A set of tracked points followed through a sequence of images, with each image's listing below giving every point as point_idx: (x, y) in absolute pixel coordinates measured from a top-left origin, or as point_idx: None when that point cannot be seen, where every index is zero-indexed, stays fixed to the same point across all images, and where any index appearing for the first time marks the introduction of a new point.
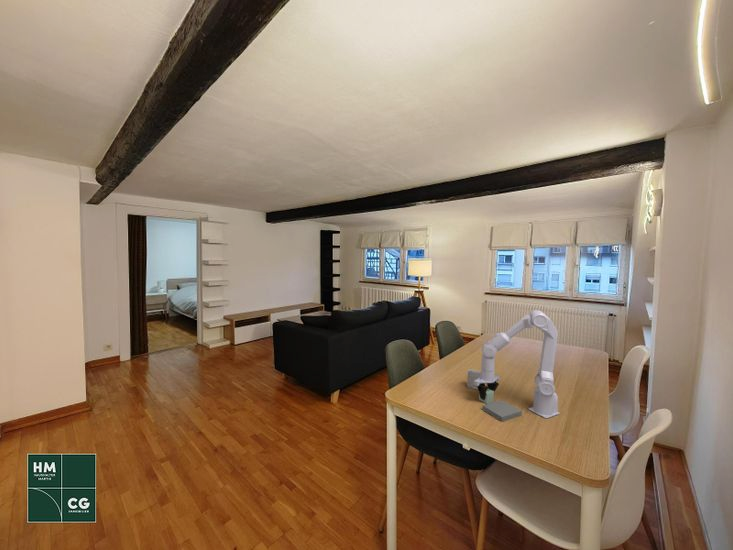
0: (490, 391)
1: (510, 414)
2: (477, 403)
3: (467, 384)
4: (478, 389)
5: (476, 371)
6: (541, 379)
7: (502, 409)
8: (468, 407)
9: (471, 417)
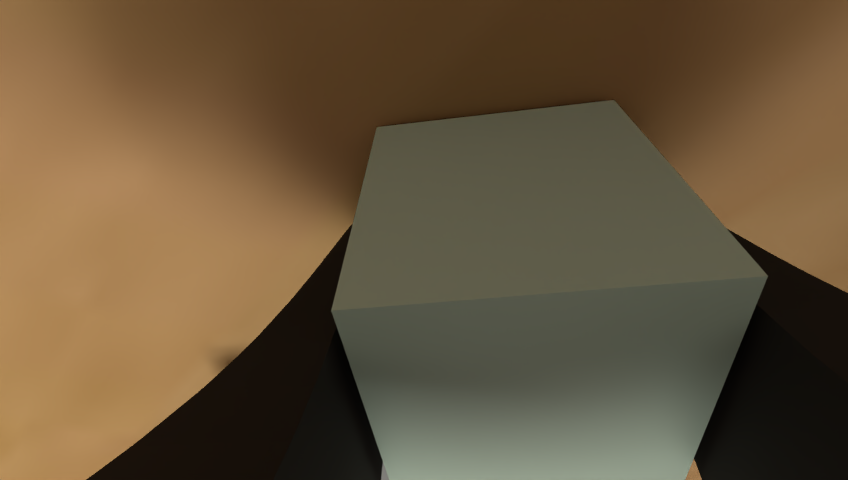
0: (581, 472)
1: None
2: (253, 233)
3: None
4: (211, 402)
5: None
6: None
7: None
8: (24, 288)
9: (13, 437)
